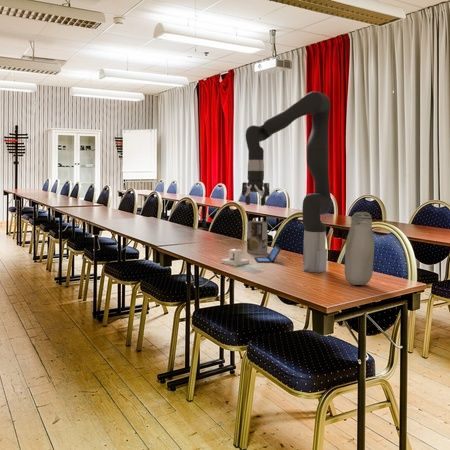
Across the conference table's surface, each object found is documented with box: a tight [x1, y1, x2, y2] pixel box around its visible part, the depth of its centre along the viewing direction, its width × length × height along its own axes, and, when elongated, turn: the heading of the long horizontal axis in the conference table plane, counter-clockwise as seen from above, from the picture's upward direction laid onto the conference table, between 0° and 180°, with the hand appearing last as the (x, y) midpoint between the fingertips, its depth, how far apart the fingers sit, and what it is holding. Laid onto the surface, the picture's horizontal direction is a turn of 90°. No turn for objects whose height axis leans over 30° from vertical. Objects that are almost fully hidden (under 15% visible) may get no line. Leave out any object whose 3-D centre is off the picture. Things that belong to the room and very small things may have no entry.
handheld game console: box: [253, 244, 282, 264], centre depth 228 cm, size 12×11×7 cm
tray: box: [220, 257, 250, 267], centre depth 220 cm, size 9×9×2 cm
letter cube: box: [228, 248, 243, 262], centre depth 220 cm, size 4×4×6 cm
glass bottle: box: [344, 211, 375, 286], centre depth 184 cm, size 10×10×28 cm
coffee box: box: [246, 220, 269, 255], centre depth 250 cm, size 9×6×16 cm
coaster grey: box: [245, 268, 265, 274], centre depth 204 cm, size 6×6×1 cm
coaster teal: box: [235, 265, 254, 271], centre depth 210 cm, size 6×6×1 cm
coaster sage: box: [246, 264, 265, 269], centre depth 214 cm, size 6×6×1 cm
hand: (255, 205), depth 225 cm, fingers open, 8 cm apart
